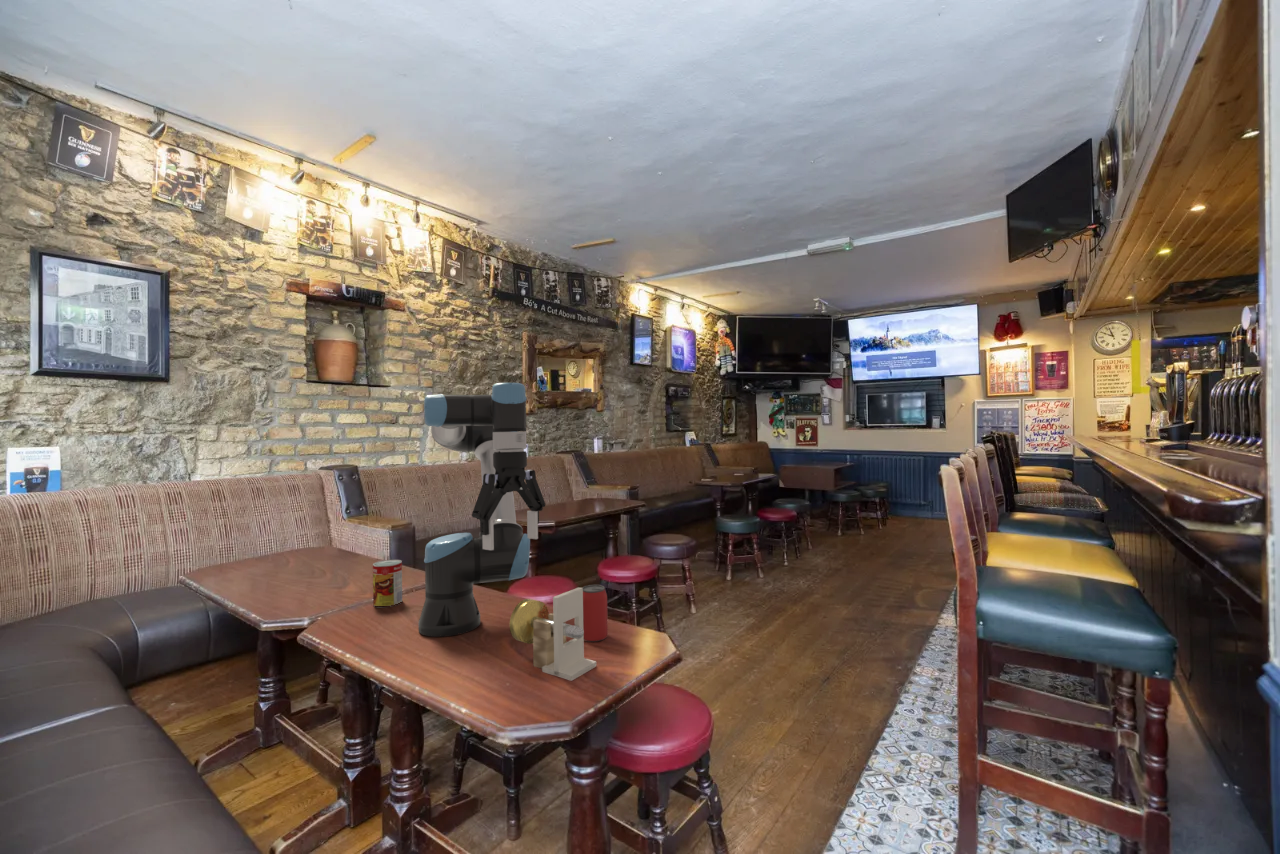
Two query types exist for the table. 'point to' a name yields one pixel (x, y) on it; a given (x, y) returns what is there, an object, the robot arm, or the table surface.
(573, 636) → the gold disc on rod
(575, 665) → the beige slotted stand
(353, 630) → the table surface
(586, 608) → the beer can
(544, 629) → the cradle
